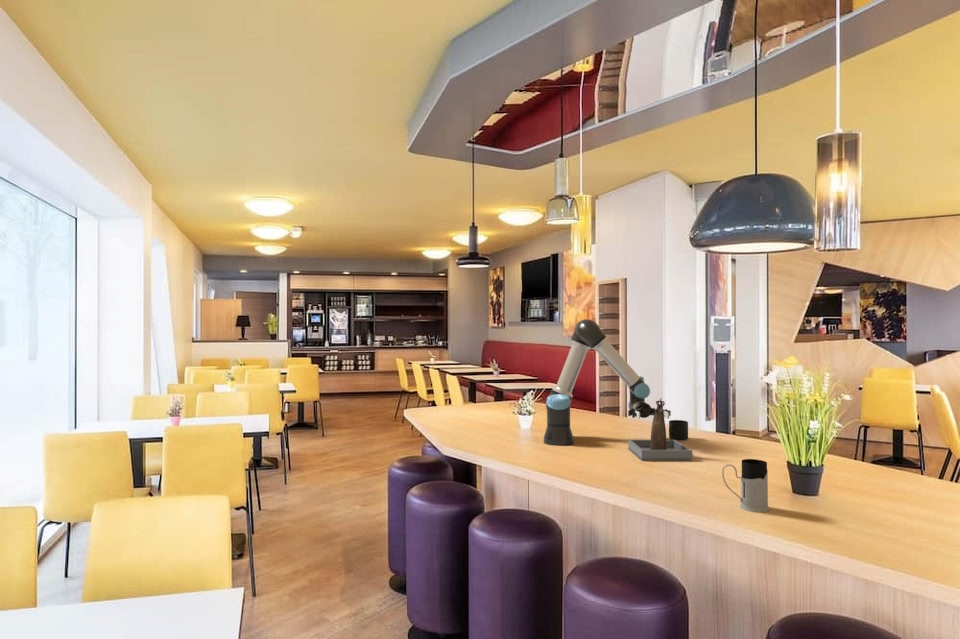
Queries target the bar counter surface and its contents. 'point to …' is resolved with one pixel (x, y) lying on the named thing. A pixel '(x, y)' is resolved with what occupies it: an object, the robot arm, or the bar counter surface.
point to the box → (660, 451)
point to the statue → (658, 429)
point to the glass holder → (753, 485)
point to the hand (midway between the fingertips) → (653, 415)
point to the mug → (678, 430)
